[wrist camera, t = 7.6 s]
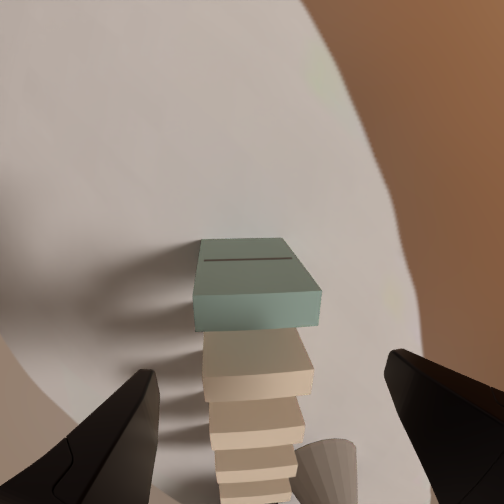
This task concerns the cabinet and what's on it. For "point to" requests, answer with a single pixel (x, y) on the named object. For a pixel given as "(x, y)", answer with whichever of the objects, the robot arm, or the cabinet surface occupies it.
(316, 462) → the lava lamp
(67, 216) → the cabinet surface
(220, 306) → the domino
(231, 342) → the domino
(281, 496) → the end domino
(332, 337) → the cabinet surface
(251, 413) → the domino
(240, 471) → the domino
